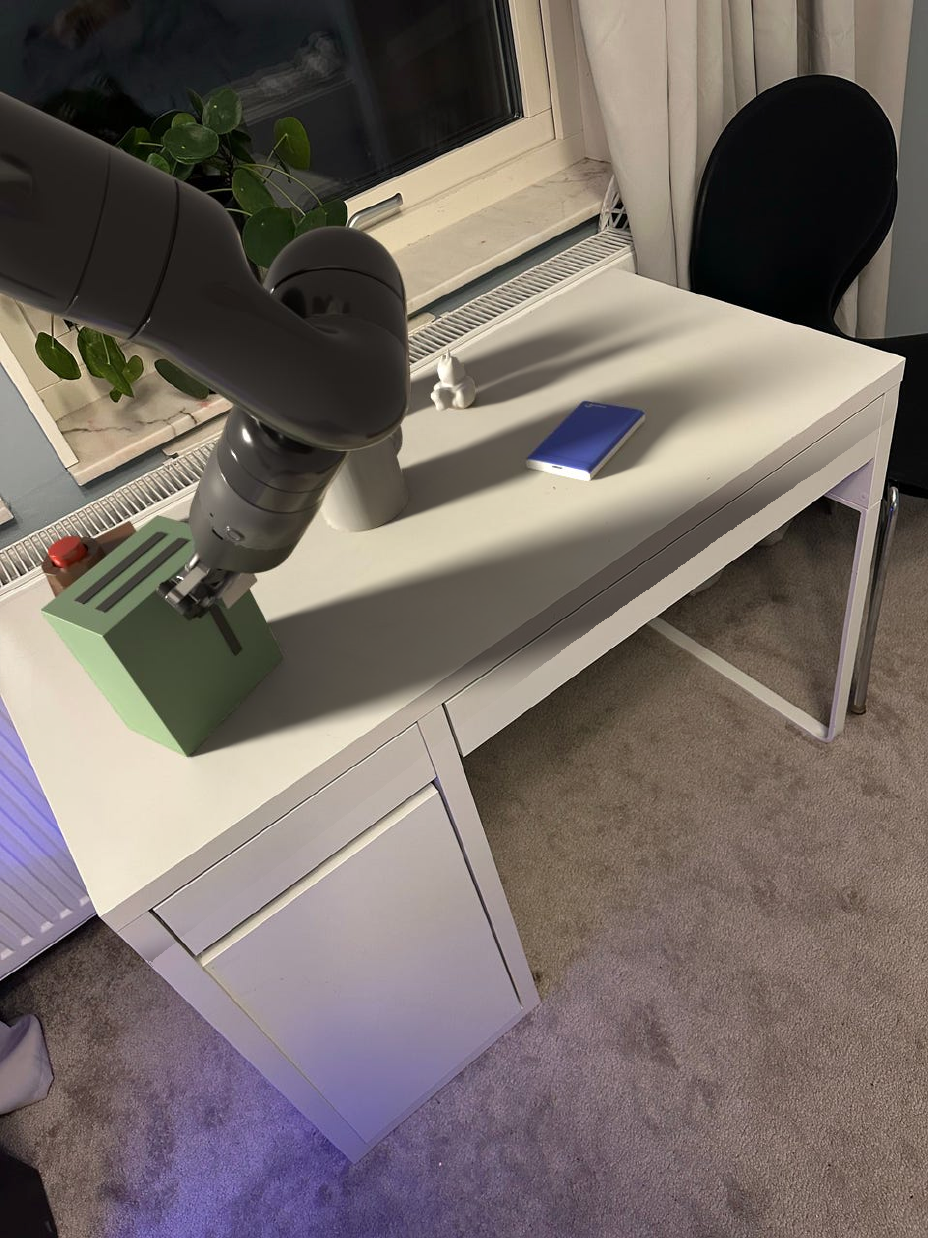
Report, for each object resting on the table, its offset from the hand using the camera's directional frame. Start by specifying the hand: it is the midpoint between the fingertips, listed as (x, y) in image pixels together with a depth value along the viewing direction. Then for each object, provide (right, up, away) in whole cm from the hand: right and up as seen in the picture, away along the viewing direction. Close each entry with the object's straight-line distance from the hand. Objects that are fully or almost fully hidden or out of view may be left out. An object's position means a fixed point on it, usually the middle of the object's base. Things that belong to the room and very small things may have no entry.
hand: (210, 591), depth 69 cm
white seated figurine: (+20, +25, +39) cm, 50 cm away
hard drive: (+35, +17, +26) cm, 47 cm away
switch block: (-21, +3, +28) cm, 35 cm away
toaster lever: (+1, 0, -2) cm, 2 cm away
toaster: (-3, -9, +9) cm, 13 cm away
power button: (-23, +5, +25) cm, 34 cm away
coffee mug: (+11, +12, +28) cm, 32 cm away
